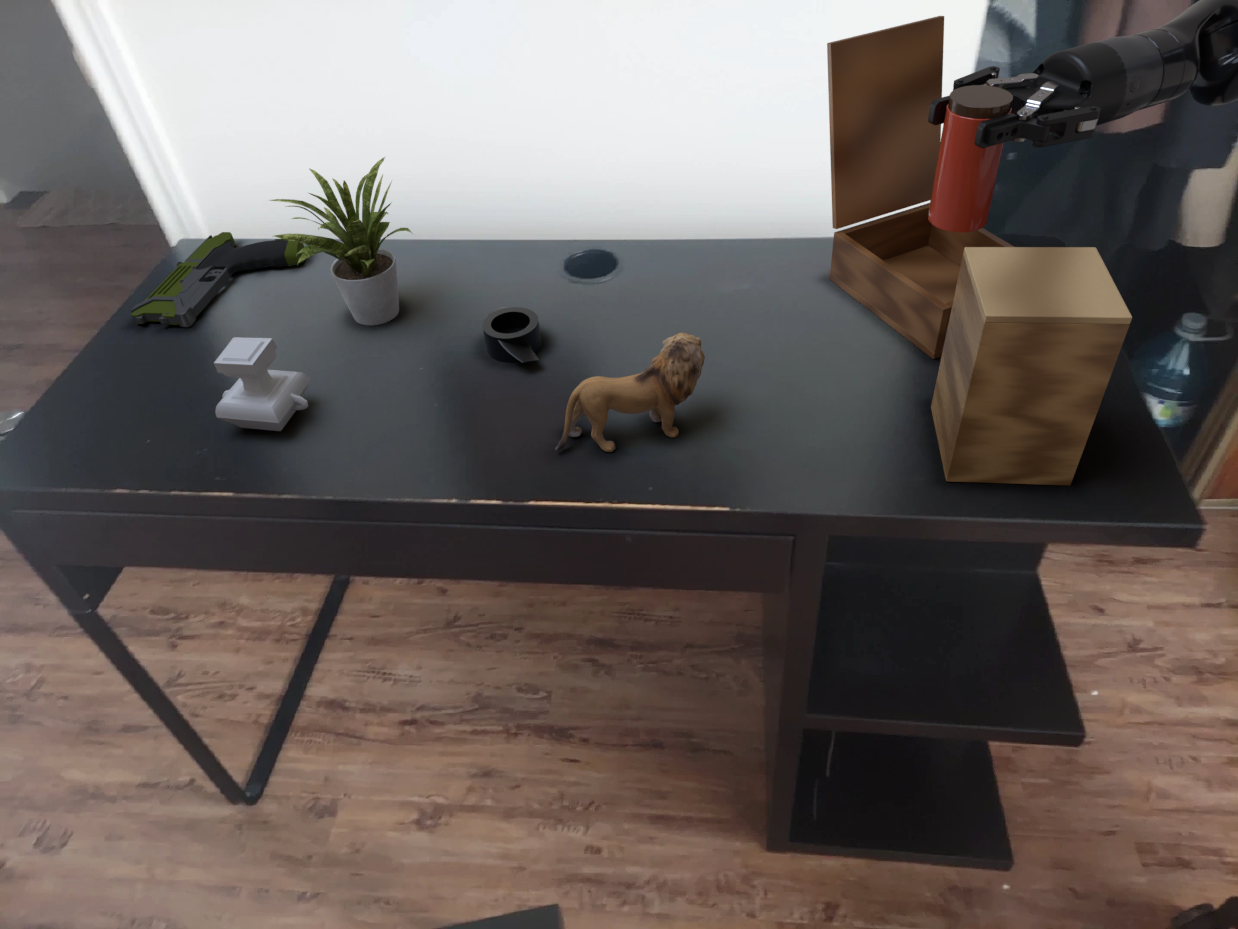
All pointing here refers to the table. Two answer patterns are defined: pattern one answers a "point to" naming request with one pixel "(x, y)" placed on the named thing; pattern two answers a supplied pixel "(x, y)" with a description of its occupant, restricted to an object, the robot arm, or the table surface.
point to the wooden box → (905, 272)
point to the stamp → (258, 386)
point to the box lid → (884, 119)
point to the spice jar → (967, 160)
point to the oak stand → (1018, 394)
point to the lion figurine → (638, 391)
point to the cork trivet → (1044, 285)
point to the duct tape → (512, 334)
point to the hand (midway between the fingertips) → (954, 124)
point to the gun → (209, 277)
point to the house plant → (355, 249)
